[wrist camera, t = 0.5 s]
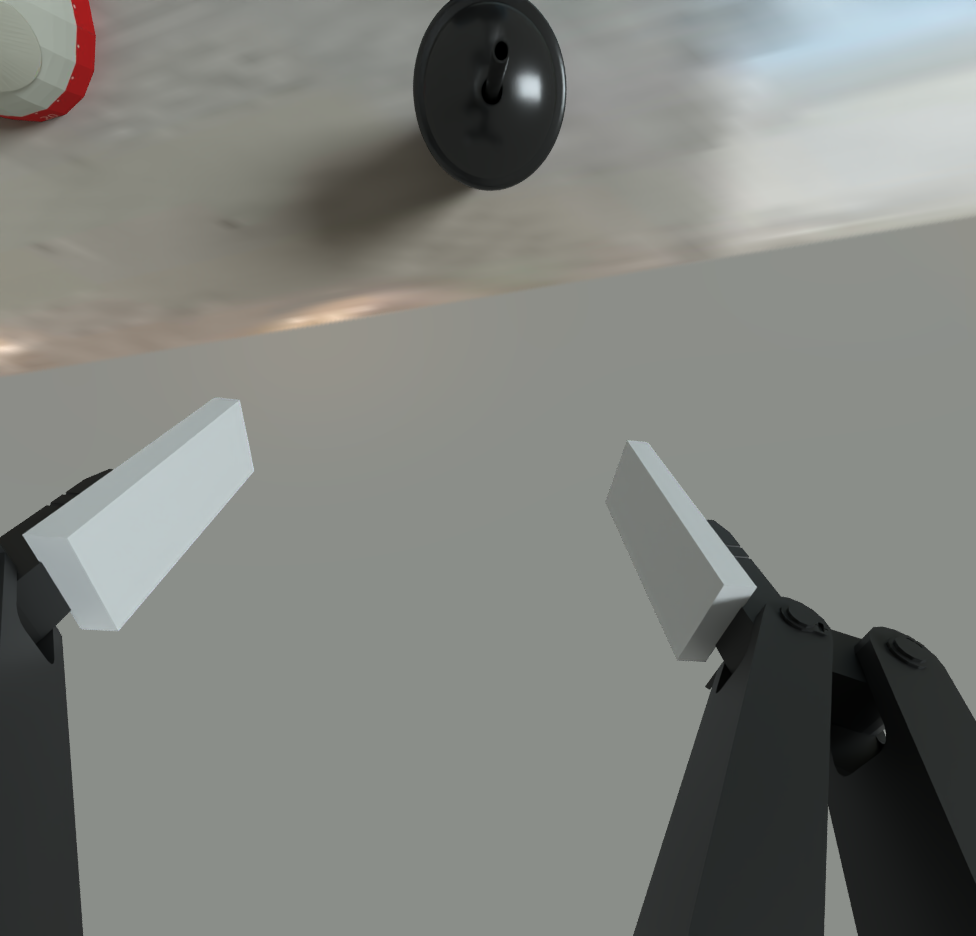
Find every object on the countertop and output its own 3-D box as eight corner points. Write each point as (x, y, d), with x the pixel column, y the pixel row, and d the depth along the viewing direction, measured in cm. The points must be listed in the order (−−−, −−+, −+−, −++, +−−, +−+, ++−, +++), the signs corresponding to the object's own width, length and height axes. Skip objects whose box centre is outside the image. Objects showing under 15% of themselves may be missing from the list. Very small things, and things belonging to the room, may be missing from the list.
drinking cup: (480, 224, 35) (499, 223, 18) (410, 143, 32) (350, 48, 15) (548, 144, 32) (647, 53, 15) (479, 48, 29) (503, -203, 12)
